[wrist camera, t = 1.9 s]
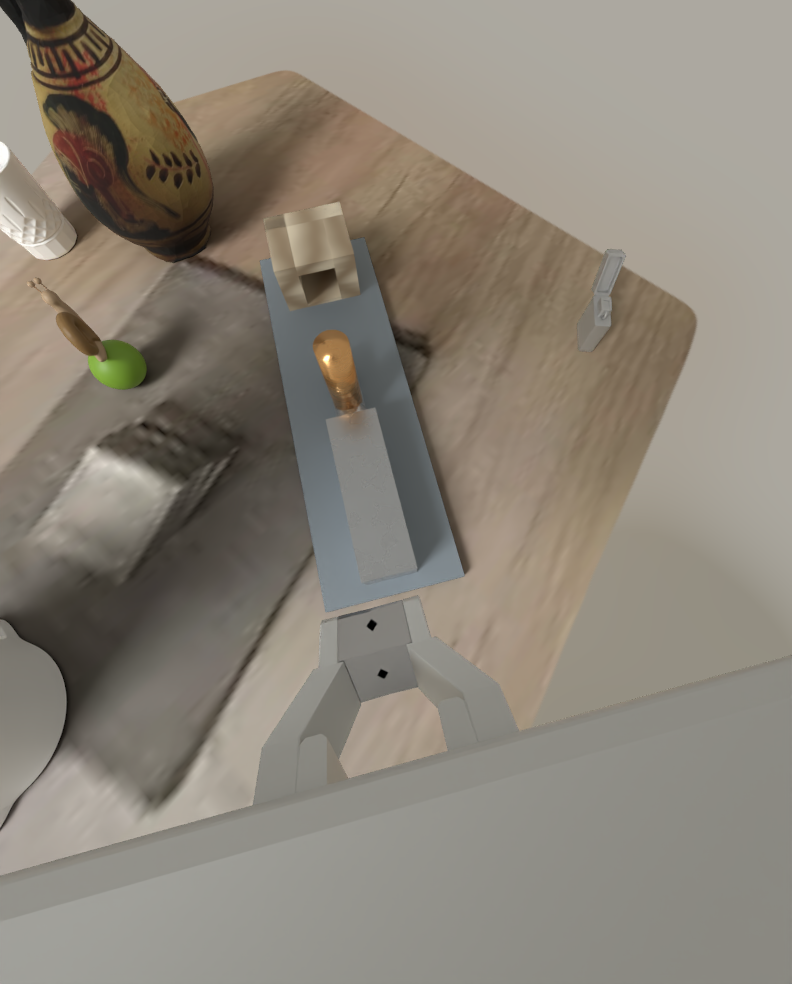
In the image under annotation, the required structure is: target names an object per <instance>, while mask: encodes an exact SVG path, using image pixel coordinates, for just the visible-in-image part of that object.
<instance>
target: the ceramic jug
mask: <svg viewBox="0 0 792 984" xmlns="http://www.w3.org/2000/svg"><path fill="white" fill-rule="evenodd" d="M0 7H1V8H2V9H3V11H4V12H5V13H6V14H7V15H8V17H9V18H10V19H11V20H12V21H13V23H14V24H15V25H16V27H17V28H18V30H19V31H20V33H21V34H22V37H23V39H24V41H25V43H26V46H27V48H28V53H29V57H30V59H31V67H32V69H33V70H32V71H31V75H32V80H33V84H34V88H35V92H36V96H37V100H38V105H39V108H40V113H41V117H42V121H43V125H44V128H45V131H46V134H47V137H48V139H49V142H50V145H51V147H52V149H53V152H54V154H55V156H56V158H57V160H58V162H59V165H60V166H61V168H62V170H63V172H64V174H65V176H66V178H67V179H68V181H69V183H70V184H71V186H72V188H73V190H74V191H75V193H76V194H77V196H78V197H79V198H80V200H81V201H82V203H83V204H84V205H85V206H86V207H87V209H88V210H89V211H90V212H91V213H92V214H93V215H94V216H95V217H96V218H97V219H98V220H99V221H100V222H101V223H103V224H104V225H105V226H106V227H108V228H109V229H110V230H111V231H113V232H114V233H116V234H117V235H119V236H120V237H122V238H124V239H126V240H128V241H130V242H132V243H134V244H137V245H140V246H143V247H144V248H145V249H146V250H147V251H148V252H149V253H151V254H152V255H154V256H156V257H157V258H159V259H162V260H164V261H166V262H172V263H174V262H176V261H179V260H182V259H184V258H188V257H192V256H194V255H195V254H197V253H199V252H200V251H202V250H203V249H204V248H205V247H206V242H207V240H208V239H209V236H210V233H211V231H210V226H209V224H208V222H209V218H210V214H211V210H212V206H213V183H212V178H211V174H210V169H209V166H208V163H207V161H206V158H205V156H204V154H203V151H202V149H201V146H200V145H199V143H198V141H197V138H196V136H195V135H194V133H193V132H192V131H191V129H190V127H189V126H188V124H187V122H186V121H185V119H184V118H183V116H182V115H181V114H180V112H179V111H178V109H177V108H176V106H175V105H174V104H173V102H172V101H171V100H170V99H169V97H168V96H167V95H166V93H165V92H164V91H163V89H162V88H161V87H160V86H159V85H158V84H157V83H156V82H155V81H154V80H153V79H152V78H151V77H150V76H149V75H148V74H147V73H146V71H145V70H144V69H143V68H142V67H141V66H139V64H137V63H136V62H135V61H134V60H133V59H132V58H131V57H130V56H129V55H128V54H127V53H126V52H125V51H124V50H123V49H122V48H121V47H120V46H119V45H118V44H117V43H116V42H115V41H114V40H113V39H112V38H110V37H109V36H108V35H107V34H106V33H105V32H104V31H103V30H101V29H100V28H99V27H97V25H95V24H94V23H93V22H92V21H91V20H90V19H89V18H88V17H86V16H85V15H84V14H83V13H82V12H81V10H80V9H79V8H77V7H76V5H75V4H74V3H73V2H72V1H71V0H0Z"/></svg>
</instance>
